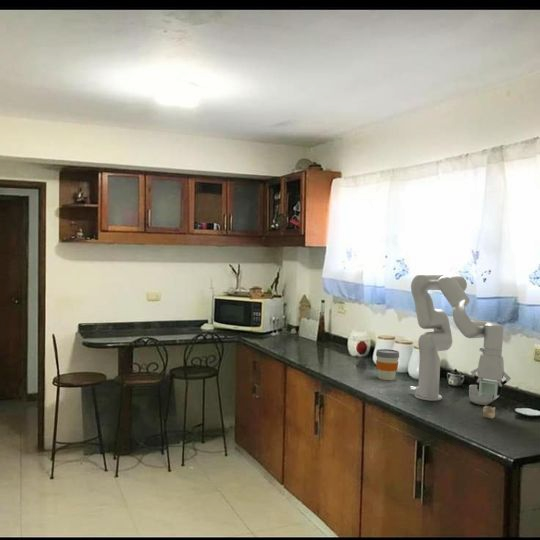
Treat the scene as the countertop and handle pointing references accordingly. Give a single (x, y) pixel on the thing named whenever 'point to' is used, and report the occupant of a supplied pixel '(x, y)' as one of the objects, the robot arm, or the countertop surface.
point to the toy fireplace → (488, 387)
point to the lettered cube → (489, 412)
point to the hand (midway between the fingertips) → (489, 392)
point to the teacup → (482, 399)
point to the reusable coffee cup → (387, 363)
